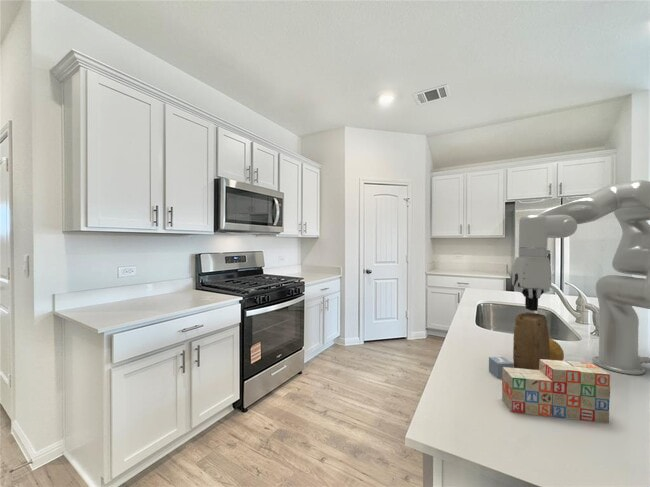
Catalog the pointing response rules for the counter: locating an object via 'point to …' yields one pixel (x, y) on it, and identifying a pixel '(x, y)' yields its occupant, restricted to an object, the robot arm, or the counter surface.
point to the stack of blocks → (558, 390)
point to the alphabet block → (499, 366)
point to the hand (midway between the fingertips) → (531, 309)
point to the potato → (555, 351)
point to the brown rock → (530, 341)
